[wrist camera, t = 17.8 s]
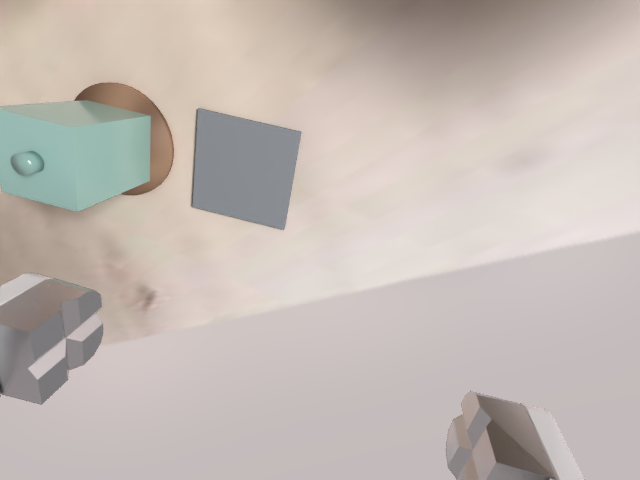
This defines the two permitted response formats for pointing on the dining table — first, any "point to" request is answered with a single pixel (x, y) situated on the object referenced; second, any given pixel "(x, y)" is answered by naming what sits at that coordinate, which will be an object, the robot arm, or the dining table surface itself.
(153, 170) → the disc
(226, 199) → the mat
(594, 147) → the dining table surface
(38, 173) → the teal knobbed box
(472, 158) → the dining table surface
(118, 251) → the dining table surface
